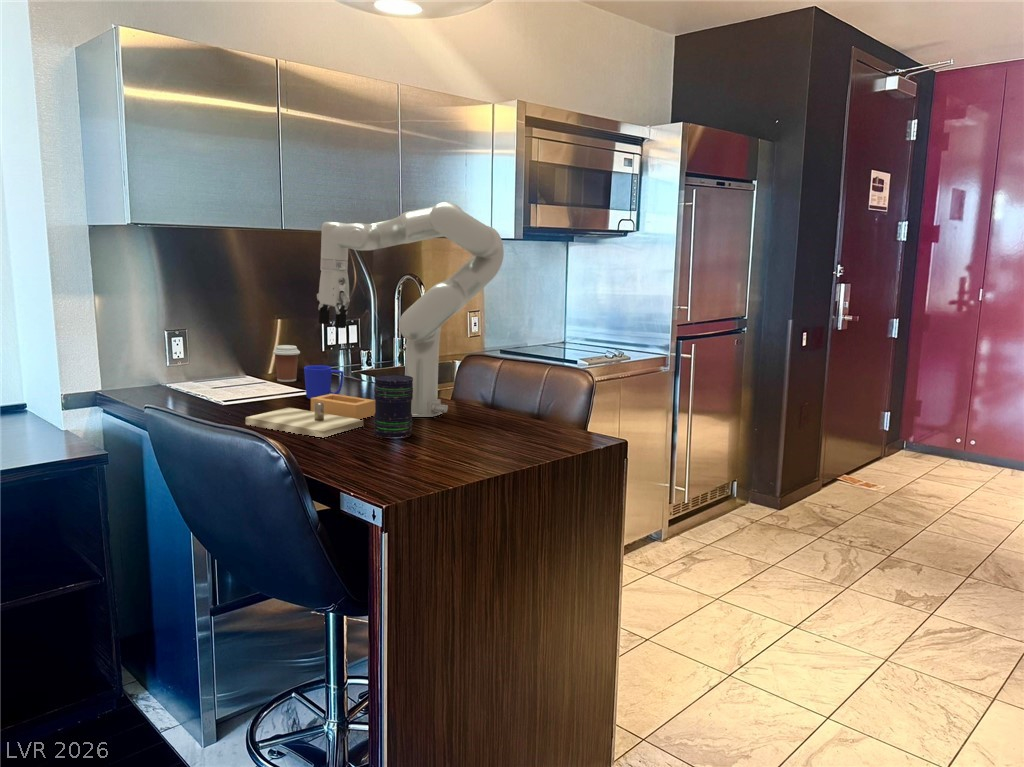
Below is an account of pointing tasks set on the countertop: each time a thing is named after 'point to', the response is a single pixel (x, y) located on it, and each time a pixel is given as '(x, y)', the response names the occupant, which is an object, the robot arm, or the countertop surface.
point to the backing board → (303, 422)
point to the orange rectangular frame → (345, 406)
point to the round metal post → (319, 411)
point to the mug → (319, 380)
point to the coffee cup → (286, 362)
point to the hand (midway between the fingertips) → (331, 325)
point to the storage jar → (393, 405)
